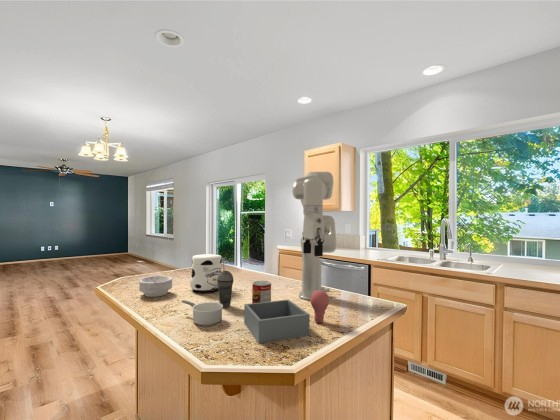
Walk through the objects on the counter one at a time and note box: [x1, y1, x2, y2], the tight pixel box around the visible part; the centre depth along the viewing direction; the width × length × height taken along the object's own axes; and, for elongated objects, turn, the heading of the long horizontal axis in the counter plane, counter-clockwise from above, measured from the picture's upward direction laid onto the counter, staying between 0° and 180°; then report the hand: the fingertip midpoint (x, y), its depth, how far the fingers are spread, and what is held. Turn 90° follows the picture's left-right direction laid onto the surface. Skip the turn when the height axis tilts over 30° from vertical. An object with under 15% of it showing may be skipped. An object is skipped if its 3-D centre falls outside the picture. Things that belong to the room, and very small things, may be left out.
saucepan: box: [181, 299, 223, 326], centre depth 111 cm, size 12×20×6 cm, turn 58°
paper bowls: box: [138, 275, 173, 298], centre depth 143 cm, size 15×15×8 cm
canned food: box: [251, 280, 272, 304], centre depth 120 cm, size 8×8×12 cm
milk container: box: [189, 253, 223, 293], centre depth 154 cm, size 17×17×18 cm
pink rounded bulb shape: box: [309, 290, 330, 324], centre depth 108 cm, size 7×7×12 cm
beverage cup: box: [217, 260, 235, 309], centre depth 126 cm, size 7×7×20 cm
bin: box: [243, 299, 311, 344], centre depth 102 cm, size 18×18×7 cm
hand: (312, 254), depth 111 cm, fingers open, 9 cm apart
